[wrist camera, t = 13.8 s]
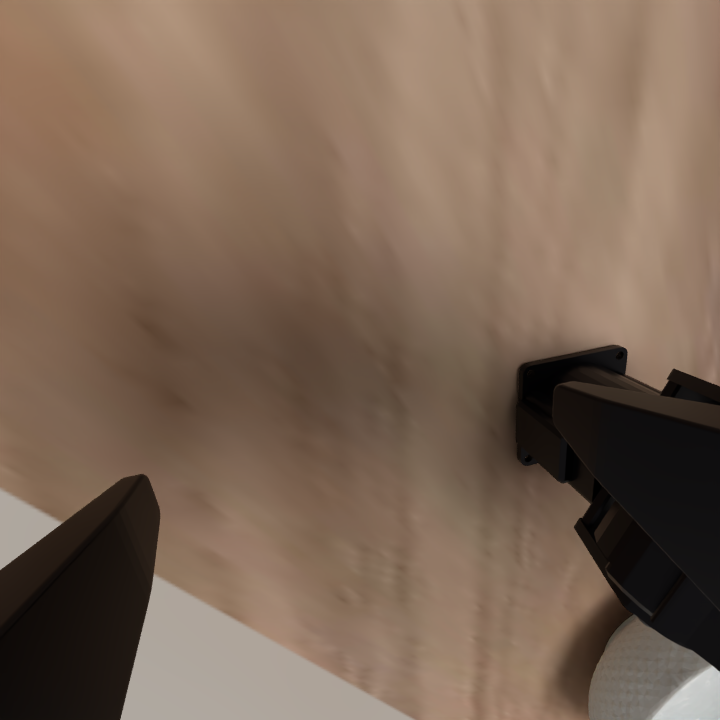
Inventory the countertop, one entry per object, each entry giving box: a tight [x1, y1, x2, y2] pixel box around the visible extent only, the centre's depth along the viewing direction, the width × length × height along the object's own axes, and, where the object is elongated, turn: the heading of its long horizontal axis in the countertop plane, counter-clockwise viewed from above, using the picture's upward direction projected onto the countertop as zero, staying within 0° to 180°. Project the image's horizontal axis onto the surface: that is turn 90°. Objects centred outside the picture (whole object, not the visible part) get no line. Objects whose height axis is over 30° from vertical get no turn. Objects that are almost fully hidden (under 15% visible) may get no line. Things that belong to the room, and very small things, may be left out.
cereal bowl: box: [588, 614, 720, 720], centre depth 32 cm, size 17×17×7 cm
